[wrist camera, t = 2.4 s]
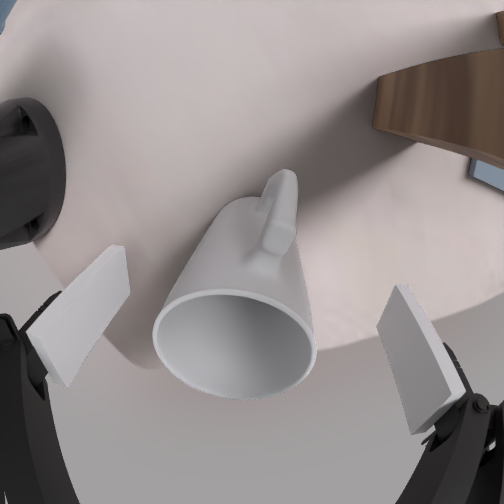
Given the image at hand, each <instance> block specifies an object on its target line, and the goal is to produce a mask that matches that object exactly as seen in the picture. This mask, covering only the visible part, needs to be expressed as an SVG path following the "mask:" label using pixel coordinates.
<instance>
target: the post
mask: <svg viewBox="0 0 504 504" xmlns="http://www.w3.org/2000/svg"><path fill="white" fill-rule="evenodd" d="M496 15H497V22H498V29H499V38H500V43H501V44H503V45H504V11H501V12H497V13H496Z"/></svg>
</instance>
